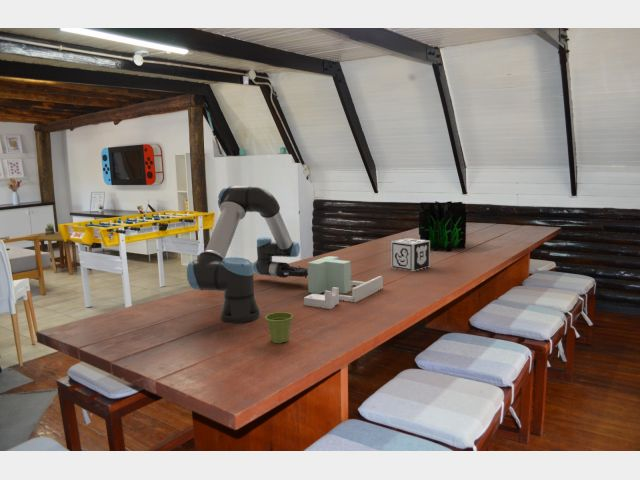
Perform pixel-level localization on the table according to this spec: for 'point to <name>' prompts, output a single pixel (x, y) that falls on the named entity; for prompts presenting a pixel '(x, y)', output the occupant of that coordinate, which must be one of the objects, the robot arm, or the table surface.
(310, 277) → the t block
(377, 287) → the white u channel
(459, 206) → the decorative plant
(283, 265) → the robot arm
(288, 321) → the plant pot
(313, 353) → the table surface
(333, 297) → the bracket
